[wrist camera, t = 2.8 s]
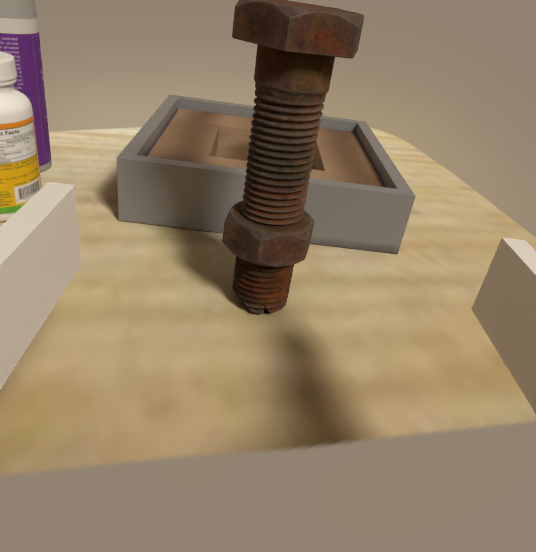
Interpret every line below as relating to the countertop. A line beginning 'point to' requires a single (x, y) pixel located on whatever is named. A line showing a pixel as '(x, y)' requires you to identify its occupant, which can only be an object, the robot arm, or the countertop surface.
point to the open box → (230, 187)
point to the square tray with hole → (235, 143)
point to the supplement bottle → (16, 144)
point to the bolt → (282, 139)
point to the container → (27, 65)
